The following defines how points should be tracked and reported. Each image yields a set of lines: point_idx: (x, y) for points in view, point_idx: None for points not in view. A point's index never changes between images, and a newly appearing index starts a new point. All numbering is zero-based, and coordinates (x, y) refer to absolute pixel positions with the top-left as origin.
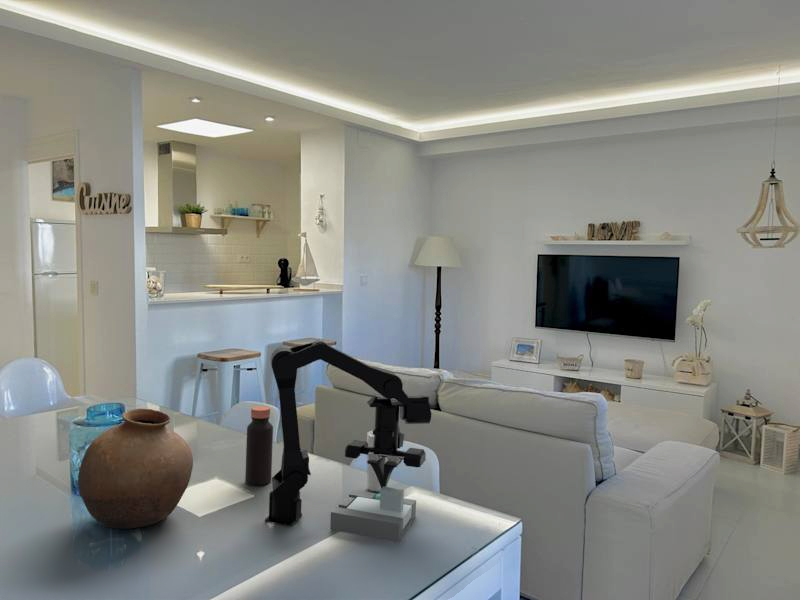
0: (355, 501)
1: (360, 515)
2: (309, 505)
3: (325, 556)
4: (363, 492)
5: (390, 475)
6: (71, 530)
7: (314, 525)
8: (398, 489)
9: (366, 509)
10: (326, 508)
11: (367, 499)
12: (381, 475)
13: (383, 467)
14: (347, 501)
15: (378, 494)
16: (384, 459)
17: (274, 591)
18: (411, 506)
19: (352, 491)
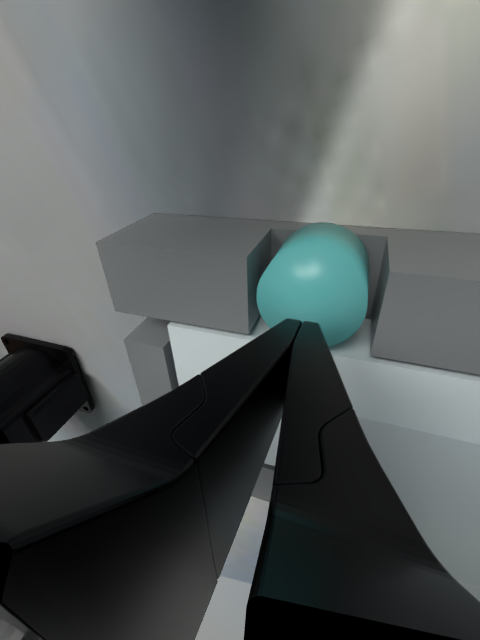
0: (187, 380)
1: (267, 492)
2: (28, 265)
3: (247, 516)
4: (164, 262)
5: (349, 402)
6: None
7: (139, 396)
8: (477, 594)
9: (271, 450)
10: (86, 274)
11: (230, 351)
12: (251, 482)
13: (209, 487)
14: (158, 388)
15: (271, 289)
16: (102, 571)
17: (222, 574)
18: None
19: (105, 266)
